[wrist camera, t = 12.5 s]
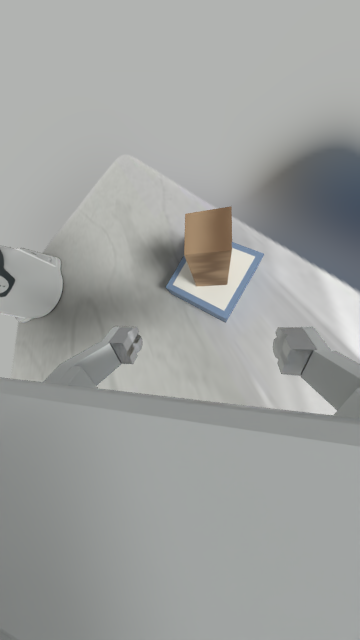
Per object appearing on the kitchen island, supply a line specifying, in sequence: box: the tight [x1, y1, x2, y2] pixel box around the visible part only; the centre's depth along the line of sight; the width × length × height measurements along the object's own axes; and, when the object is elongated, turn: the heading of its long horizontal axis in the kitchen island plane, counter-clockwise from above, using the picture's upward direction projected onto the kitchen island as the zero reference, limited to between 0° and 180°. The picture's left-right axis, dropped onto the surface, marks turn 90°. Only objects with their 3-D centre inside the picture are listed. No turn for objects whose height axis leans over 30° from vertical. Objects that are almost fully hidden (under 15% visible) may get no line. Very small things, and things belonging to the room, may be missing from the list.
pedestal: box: [166, 242, 264, 322], centre depth 29 cm, size 12×12×4 cm
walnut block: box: [184, 207, 232, 286], centre depth 22 cm, size 5×5×10 cm
